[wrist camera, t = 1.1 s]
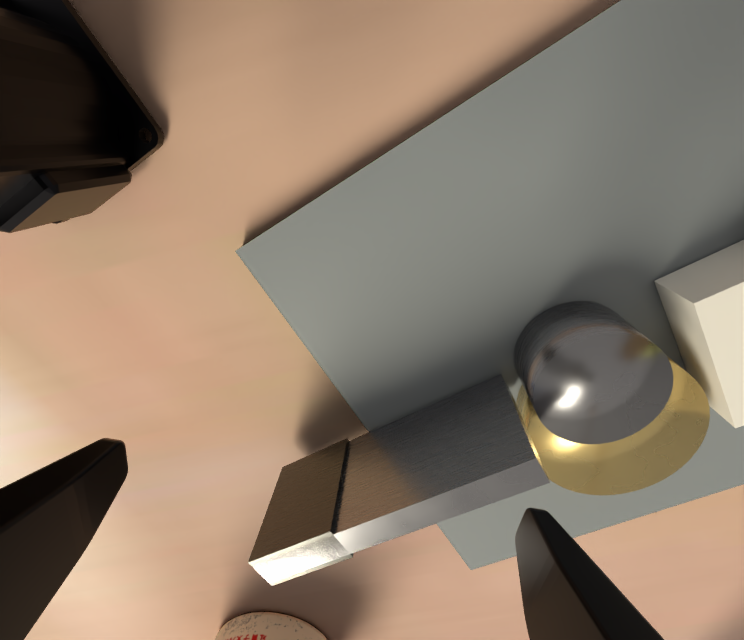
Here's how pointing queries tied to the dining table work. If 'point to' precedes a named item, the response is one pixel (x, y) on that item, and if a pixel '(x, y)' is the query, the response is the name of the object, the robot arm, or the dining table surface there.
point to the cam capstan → (495, 443)
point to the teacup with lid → (268, 628)
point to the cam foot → (711, 326)
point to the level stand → (530, 236)
